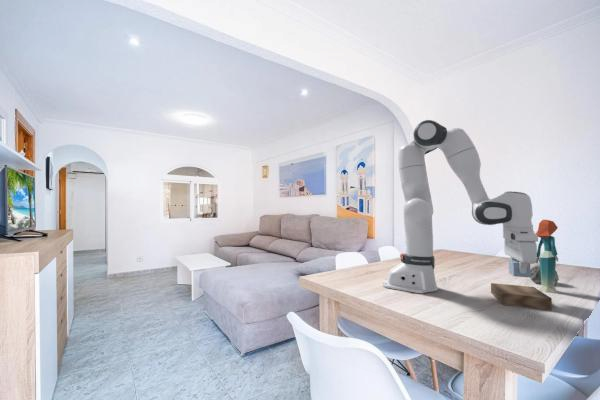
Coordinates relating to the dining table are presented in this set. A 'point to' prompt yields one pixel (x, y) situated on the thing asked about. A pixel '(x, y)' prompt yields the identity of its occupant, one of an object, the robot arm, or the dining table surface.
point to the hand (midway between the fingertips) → (519, 271)
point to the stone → (539, 275)
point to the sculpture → (547, 255)
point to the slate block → (515, 269)
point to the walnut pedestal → (521, 296)
